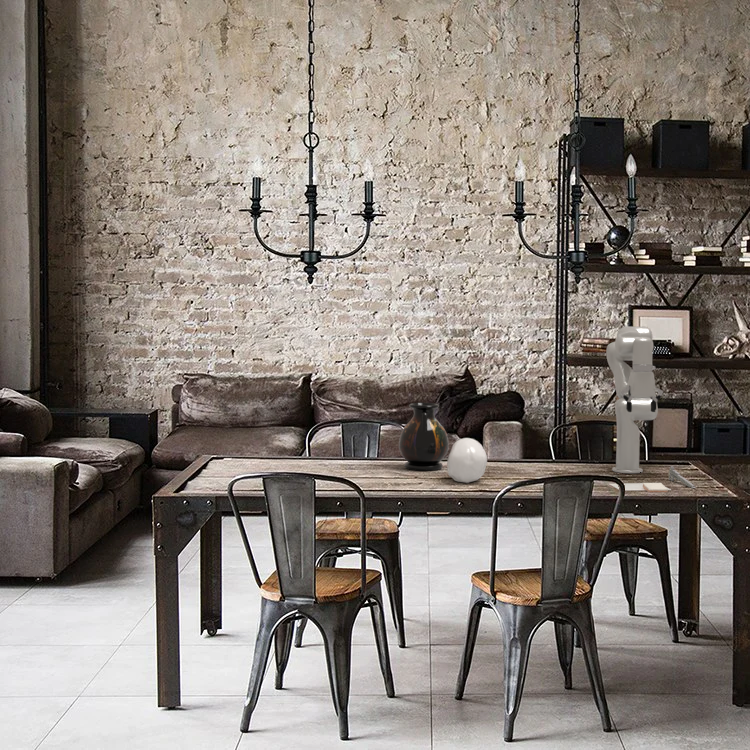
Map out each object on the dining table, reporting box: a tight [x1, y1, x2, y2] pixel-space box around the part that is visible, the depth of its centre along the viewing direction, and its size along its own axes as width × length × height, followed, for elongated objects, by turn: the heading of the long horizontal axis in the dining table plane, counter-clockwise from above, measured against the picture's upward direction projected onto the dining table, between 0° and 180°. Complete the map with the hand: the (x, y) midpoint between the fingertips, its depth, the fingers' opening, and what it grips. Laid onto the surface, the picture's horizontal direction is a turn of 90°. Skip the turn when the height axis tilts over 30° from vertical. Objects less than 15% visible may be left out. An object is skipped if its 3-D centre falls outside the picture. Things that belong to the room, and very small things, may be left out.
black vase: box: [398, 402, 450, 472], centre depth 434 cm, size 22×22×28 cm
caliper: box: [668, 465, 696, 489], centre depth 399 cm, size 20×1×6 cm, turn 11°
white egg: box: [446, 437, 488, 484], centre depth 405 cm, size 16×20×22 cm
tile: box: [642, 482, 669, 493], centre depth 382 cm, size 8×2×7 cm
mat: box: [608, 482, 672, 492], centre depth 390 cm, size 15×20×1 cm
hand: (641, 411), depth 402 cm, fingers open, 9 cm apart
